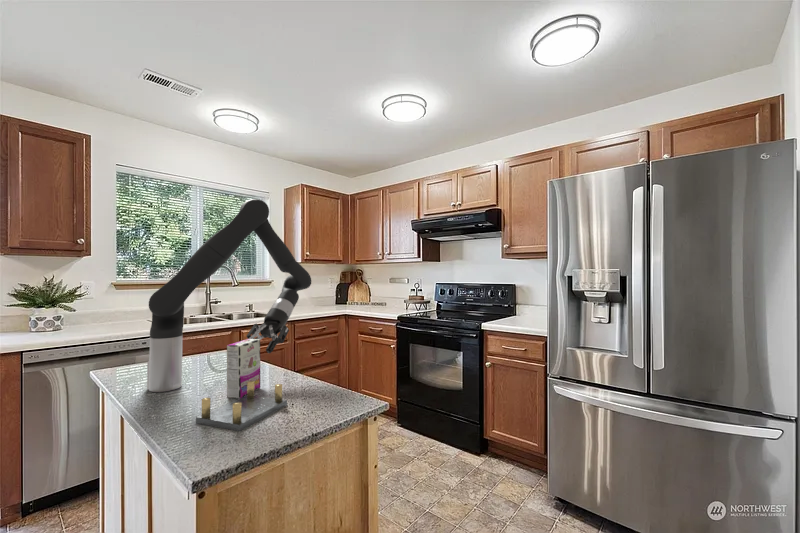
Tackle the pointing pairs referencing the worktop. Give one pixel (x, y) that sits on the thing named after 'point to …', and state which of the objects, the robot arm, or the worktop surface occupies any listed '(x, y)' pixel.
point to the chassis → (241, 410)
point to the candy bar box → (242, 367)
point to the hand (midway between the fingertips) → (257, 351)
